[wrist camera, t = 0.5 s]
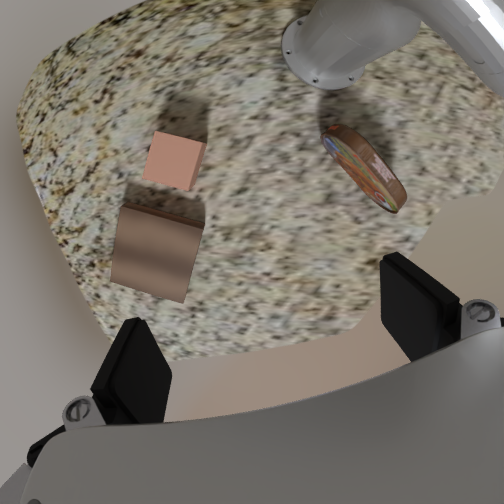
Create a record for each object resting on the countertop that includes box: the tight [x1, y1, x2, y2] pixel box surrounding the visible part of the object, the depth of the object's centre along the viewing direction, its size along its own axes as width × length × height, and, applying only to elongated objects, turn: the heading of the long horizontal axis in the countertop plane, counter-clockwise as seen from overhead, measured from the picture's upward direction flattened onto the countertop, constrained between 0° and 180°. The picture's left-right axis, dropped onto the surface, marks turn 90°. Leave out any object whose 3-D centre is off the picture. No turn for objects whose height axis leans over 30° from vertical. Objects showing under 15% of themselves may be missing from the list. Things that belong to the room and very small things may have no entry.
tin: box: [320, 124, 407, 214], centre depth 35 cm, size 15×3×8 cm, turn 47°
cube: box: [142, 131, 207, 191], centre depth 35 cm, size 6×6×6 cm
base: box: [110, 202, 205, 304], centre depth 40 cm, size 12×12×3 cm
